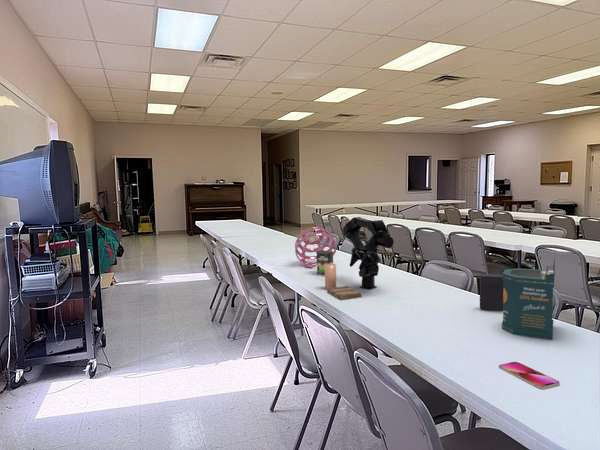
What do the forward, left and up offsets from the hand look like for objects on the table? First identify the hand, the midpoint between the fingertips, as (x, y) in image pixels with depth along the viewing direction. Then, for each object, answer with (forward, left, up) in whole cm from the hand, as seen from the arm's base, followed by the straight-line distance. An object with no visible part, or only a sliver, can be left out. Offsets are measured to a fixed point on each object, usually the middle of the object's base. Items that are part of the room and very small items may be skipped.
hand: (354, 267), depth 205 cm
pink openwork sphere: (-32, -68, -14) cm, 77 cm away
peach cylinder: (+2, -16, -14) cm, 21 cm away
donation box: (-10, +78, -14) cm, 79 cm away
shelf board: (+5, -3, -13) cm, 15 cm away
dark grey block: (-23, +59, -14) cm, 65 cm away
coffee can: (-19, -44, -14) cm, 50 cm away
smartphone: (+27, +94, -14) cm, 98 cm away
